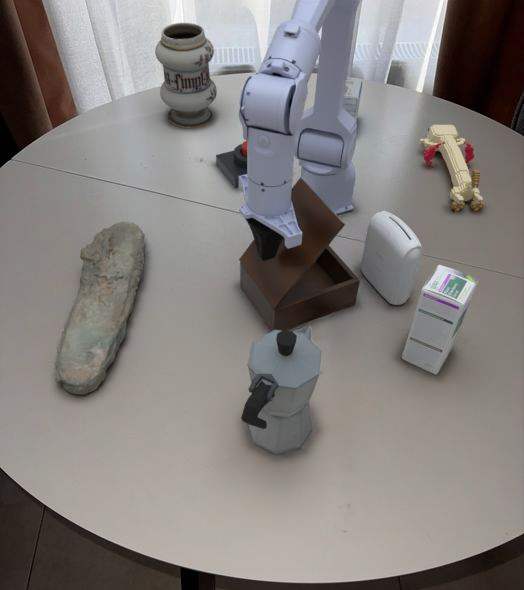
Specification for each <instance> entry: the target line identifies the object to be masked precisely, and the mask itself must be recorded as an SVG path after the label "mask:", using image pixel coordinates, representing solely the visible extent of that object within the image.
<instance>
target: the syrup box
mask: <svg viewBox="0 0 524 590" xmlns="http://www.w3.org/2000/svg"><path fill="white" fill-rule="evenodd" d="M478 283H479V279H478V278H475V277H474V276H471V275H469V274H468V273H465V272H463V271H459V270H457V269H455V268H451V267H448V266H445V265H442V264H438V265H436V268H435V269H434V271H433V272H432V273H431V274H430V276H429V277H428V279H427V280H426V281H425V284H424V285H423V286H422V288H421V290H420V293H419V294H420V295H419V298H418V301H417V304H416V307H415V310H414V314H413V316H412V320H411V323H410V327H409V330H408V333H407V337H406V341H405V343H404V347H403V350H402V353H401V357H400V358H401V359H402V360H403V361H405V362H406V363H409V364H411V365H413V366H415V367H418V368H419V369H422V370H425V371H426V372H429V373H430V374H433V375H436V376H437V375H438V373H439V372H440V371H441V369H442V367H443V365H444V364H445V362H446V361H447V358H448V357H449V354H450V353H451V351H452V349H453V347H454V343H455V342H456V339H457V336H458V334H459V331H460V329H461V326H462V324H463V321H464V319H465V316H466V313H467V311H468V308H469V306H470V303H471V301H472V298H473V295H474V293H475V290H476V288H477V286H478Z"/></svg>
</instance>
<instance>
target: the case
mask: <svg viewBox="0 0 524 590" xmlns="http://www.w3.org/2000/svg"><path fill="white" fill-rule="evenodd" d="M239 262H240V261H239ZM239 279H240V280H239V281H240V282H239V283H240V288H241V290H242V291H243V293H244V294H245V295H246V297H247V298H248V300H249V302H250V303H251V304H252V306H253V307H254V309H255V310H256V311H257V313H258V315H259V316H260V318H261V319H262V320H263V322H264V324H265V325H266V326H267V327H268V329H269V331H270V332H272V331H273V330H281V331H283V330H288V331H289V330H290V329H294V328H296V327H299V326H301V325H304V324H307V323H310V322H312V321H316V320H318V319H320V318H323V317H326V316H328V315H331V314H334V313H337V312H340V311H342V310H345V309H348V308H350V307H354V306H355V305H356V301H357V297H358V291H359V288H360V283H361V280H360V278H358V276H357V275H356V274H355V273H354V271H352V270H351V268H350V267H349V266H348V265H347V264H346V262H345V261H343V259H342V258H341V257H340V256H339V255H338V254H337V252H336V251H335V250H334V249H333V248H332V247H331V245H330V244H329V245H328V246H327V248H326V249H325V250H324V251H323V253H322V254H321V255H320V256H319V257H318V259H317V260H316V261H315V262H314V264H313V265H312V266H311V267H310V268H309V270H308V271H307V272H306V273H305V275H304V276H303V277H302V278H301V280H300V281H299V282H298V283H297V284H296V286H295V287H294V288H293V289H292V291H291V292H290V293H289V294H288V295H287V297H286V298H285V299H284V300H283V302H282V303H281V304H280V305H279V307H278V308H277V309H274V308H273V307H272V305H271V304H270V302H269V301H268V300H267V298H266V297H265V295H264V294H263V293H262V291H261V290H260V288H259V287H258V286H257V284H256V283H255V282H254V280H253V279H252V277H251V276H250V275H249V273H248V272H247V270H246V269H245V268H244V266H243V265H242V263H241V262H240V263H239Z"/></svg>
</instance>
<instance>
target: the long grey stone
mask: <svg viewBox="0 0 524 590" xmlns="http://www.w3.org/2000/svg"><path fill="white" fill-rule="evenodd" d="M145 236H146V235H145V233H144V232H143V230H142V228H141V227H140V226H139V225H138V224H136V223H134V222H131V221H119V222H116V223H114V224H112V225H110V226H109V227H107V228H102V229H101V231H100V232H98V233H96V234H95V235H94V237H93V240H92V242H91V243H88V244H86V246H85V247H82V248H81V249H80V254H79V258H80V260H82V261H83V262H82V264H83V265H82V267H81V276H80V278H79V290H78V293H77V294H78V295H77V297H76V299H74V301H73V305H72V306H71V308H70V310H69V312H68V313H69V315H68V317H67V319H66V321H65V323H64V326H63V331H62V333H61V336H62V337H61V338H60V340H59V341H58V346H57V348H56V353H57V356H56V361H55V362H54V366H55V374H54V380H55V382H56V383H57V384H62V387H63V389H64V390H65V391H67V392H68V393H70V394H73V395H86V394H89V393H91V392H94V391H95V390H97V389H98V387H99V385H101V383H102V382H103V381H104V380H105V378H106V376H107V370H108V369H109V368H110V365H111V364H112V363H113V362H114V361H115V359H116V356H117V352H118V351H119V349H120V345H121V344H122V343H123V341H124V339H125V337H126V335H127V326H128V319H129V316H130V314H131V313H132V311H133V309H134V302H135V298H136V296H137V291H138V289H139V287H138V286H139V285H140V281H141V279H142V277H144V276H143V274H144V264H145V255H144V254H145V251H146V242H145Z"/></svg>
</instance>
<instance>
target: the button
mask: <svg viewBox="0 0 524 590" xmlns="http://www.w3.org/2000/svg"><path fill="white" fill-rule="evenodd" d="M241 144H242V155H243V156H245V157H247V141H246V140H244V141H243V142H242V143H241Z"/></svg>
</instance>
